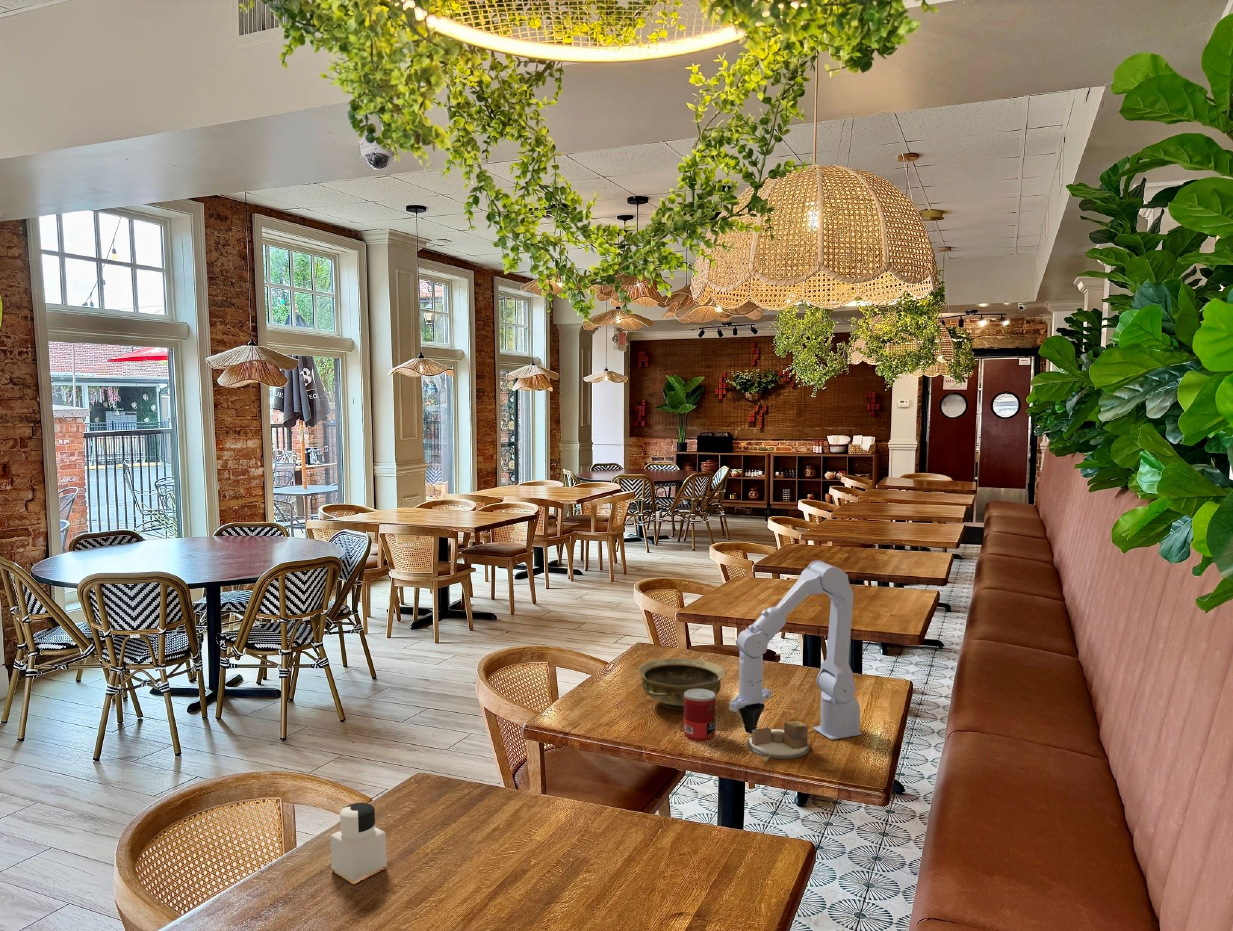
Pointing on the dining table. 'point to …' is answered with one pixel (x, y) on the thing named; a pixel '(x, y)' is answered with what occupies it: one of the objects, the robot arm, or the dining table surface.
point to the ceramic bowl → (678, 679)
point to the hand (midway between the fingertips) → (750, 732)
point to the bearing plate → (778, 756)
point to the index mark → (766, 758)
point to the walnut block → (795, 734)
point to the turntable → (772, 743)
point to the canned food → (699, 714)
